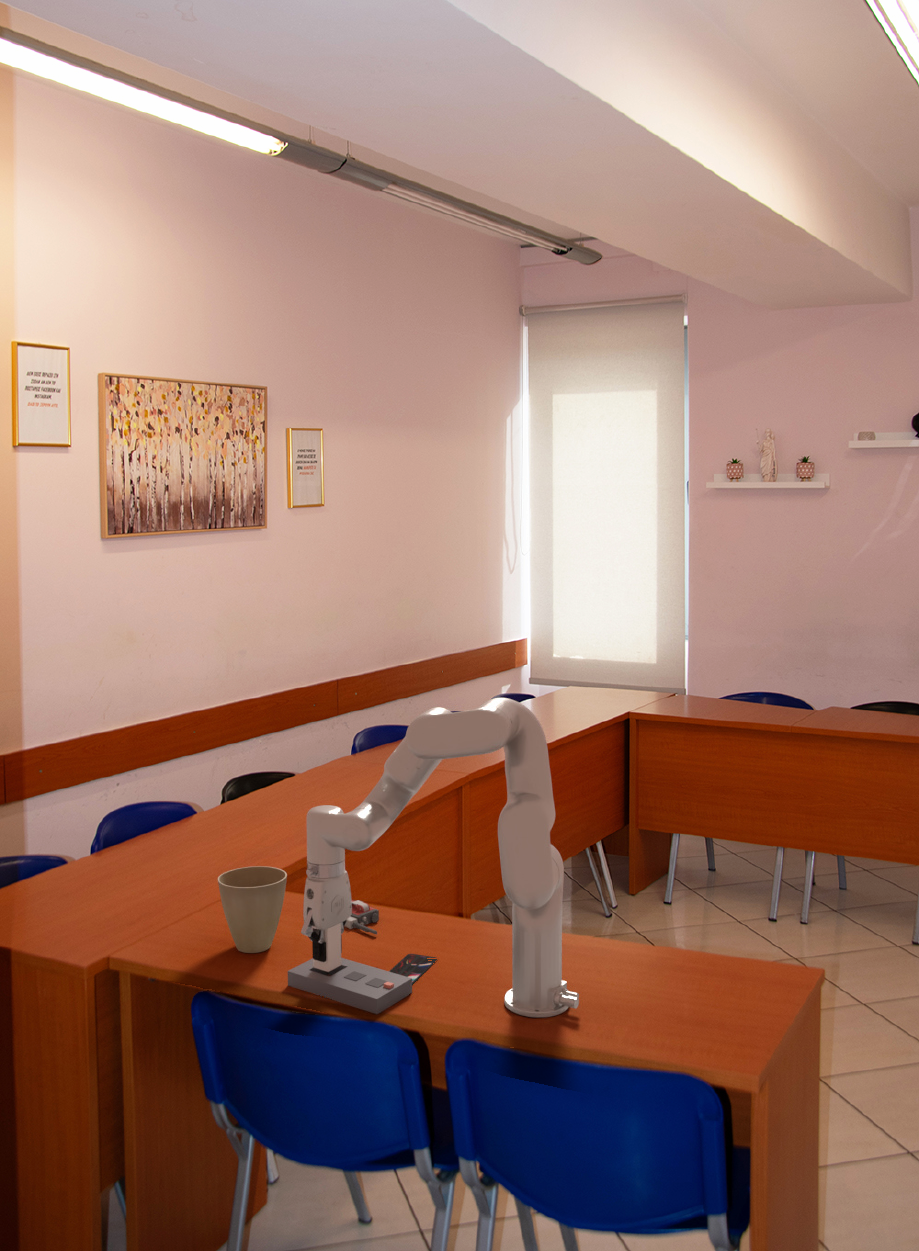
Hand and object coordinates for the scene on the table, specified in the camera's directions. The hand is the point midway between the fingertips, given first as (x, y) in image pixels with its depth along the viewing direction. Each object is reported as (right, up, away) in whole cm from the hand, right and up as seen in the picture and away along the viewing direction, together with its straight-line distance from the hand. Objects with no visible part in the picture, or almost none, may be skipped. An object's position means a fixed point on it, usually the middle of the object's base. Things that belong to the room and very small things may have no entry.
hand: (327, 955), depth 212 cm
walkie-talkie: (+3, -3, +33) cm, 34 cm away
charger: (0, -2, 0) cm, 2 cm away
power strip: (+5, -6, -3) cm, 8 cm away
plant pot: (-19, -4, +19) cm, 27 cm away
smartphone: (+16, -6, +6) cm, 18 cm away
